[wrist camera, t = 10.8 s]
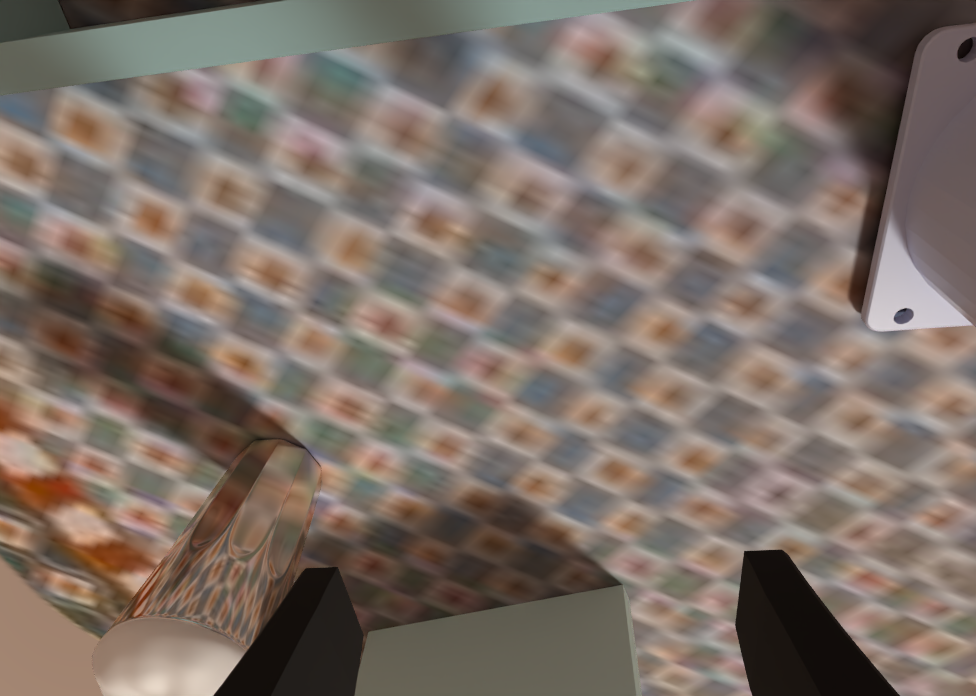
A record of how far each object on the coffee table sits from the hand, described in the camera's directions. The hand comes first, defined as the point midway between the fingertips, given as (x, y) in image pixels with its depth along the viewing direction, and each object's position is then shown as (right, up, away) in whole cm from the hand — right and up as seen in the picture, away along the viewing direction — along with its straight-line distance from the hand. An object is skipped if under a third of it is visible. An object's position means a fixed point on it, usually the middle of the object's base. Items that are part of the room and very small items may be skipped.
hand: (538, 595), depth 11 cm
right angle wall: (+1, -12, +20) cm, 23 cm away
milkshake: (-9, 0, +13) cm, 16 cm away
